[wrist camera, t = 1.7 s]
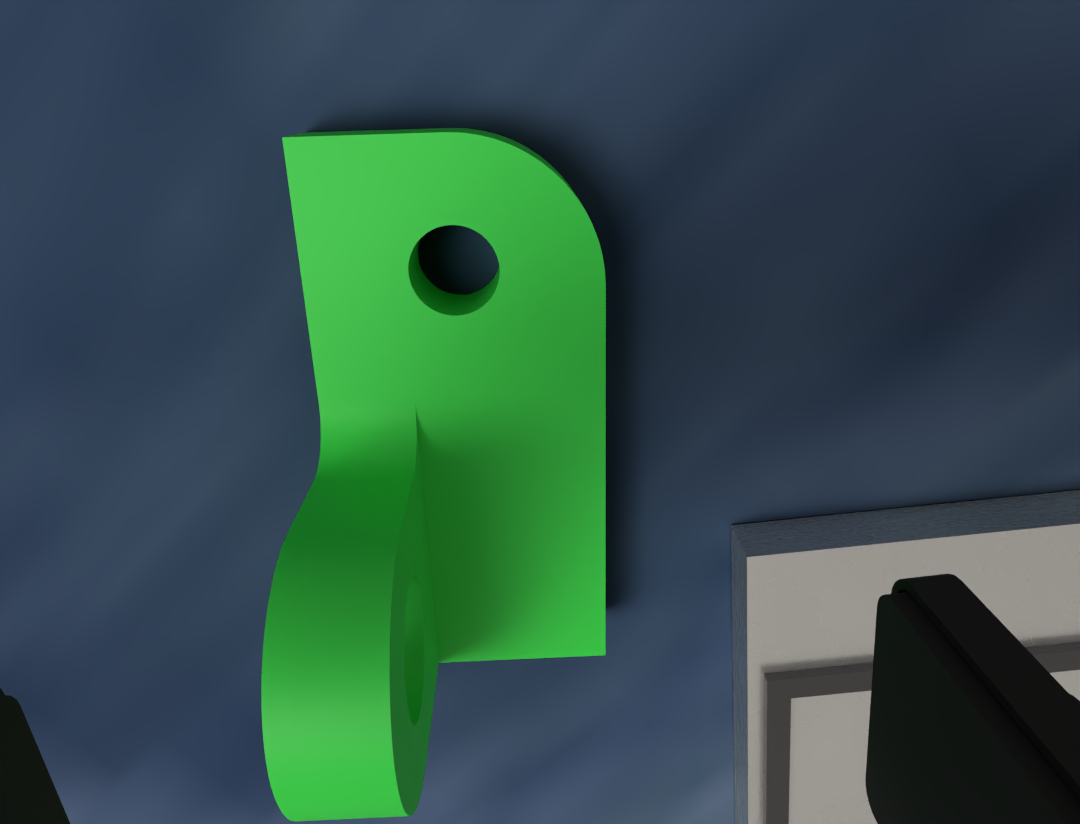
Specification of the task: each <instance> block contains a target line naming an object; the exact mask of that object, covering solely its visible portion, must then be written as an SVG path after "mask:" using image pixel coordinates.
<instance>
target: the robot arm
mask: <svg viewBox="0 0 1080 824" xmlns="http://www.w3.org/2000/svg"><path fill="white" fill-rule="evenodd" d="M865 782H866V792H867V797H868V801H869V805H870V808H871V811H872V813H873V815H874V817H875V820H876V822H877V823H878V824H1080V701H1079V700H1078V699H1077V698H1076V697H1074V696H1073V695H1071V694H1069V693H1068V692H1067V691H1066V690H1065V689H1064V688H1063V687H1062V686H1061V685H1060V684H1059V682H1058V681H1057V680H1056V679H1055V678H1054V677H1053V676H1052V675H1051V674H1050V673H1049V672H1048V671H1047V670H1046V669H1045V668H1044V667H1043V666H1042V665H1041V664H1040V663H1039V661H1038V660H1037V659H1036V658H1035V657H1034V656H1033V655H1032V654H1031V653H1030V652H1029V651H1028V650H1027V649H1026V648H1025V647H1024V646H1023V645H1022V644H1021V643H1020V641H1019V640H1018V639H1017V638H1016V637H1015V636H1014V635H1013V634H1012V633H1011V632H1010V631H1009V630H1008V629H1007V628H1006V627H1005V626H1004V625H1003V624H1002V623H1001V621H1000V620H999V619H998V618H997V617H996V616H995V615H994V614H993V613H992V612H991V611H990V610H989V609H988V608H987V607H986V606H985V605H984V604H983V603H982V601H981V600H980V599H979V598H978V597H977V596H976V595H975V594H974V593H973V592H972V591H971V590H970V589H969V588H968V587H967V586H966V585H965V584H964V583H963V582H962V580H960V579H959V578H958V577H957V576H955V575H953V574H940V575H931V576H922V577H913V578H905V579H899V580H897V581H895V583H894V585H893V587H892V591H891V594H885V595H882V596H880V598H879V600H878V604H877V613H876V628H875V643H874V658H873V673H872V688H871V703H870V718H869V733H868V748H867V762H866V777H865ZM0 824H70V822H69V820H68V817H67V815H66V813H65V810H64V808H63V806H62V803H61V801H60V799H59V796H58V794H57V791H56V789H55V787H54V784H53V782H52V780H51V777H50V775H49V772H48V770H47V768H46V765H45V763H44V761H43V758H42V756H41V753H40V751H39V749H38V746H37V744H36V742H35V739H34V737H33V735H32V732H31V730H30V727H29V725H28V723H27V720H26V718H25V716H24V713H23V711H22V708H21V706H20V704H19V703H18V701H17V700H16V699H15V698H14V697H12V696H8V695H5V694H4V692H3V691H2V689H0Z"/></svg>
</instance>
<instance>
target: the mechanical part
mask: <svg viewBox="0 0 1080 824" xmlns="http://www.w3.org/2000/svg"><path fill="white" fill-rule="evenodd" d="M282 139H283V147H284V154H285V161H286V169H287V176H288V183H289V190H290V198H291V205H292V212H293V220H294V227H295V234H296V241H297V249H298V256H299V263H300V270H301V278H302V285H303V292H304V300H305V307H306V314H307V321H308V329H309V336H310V343H311V350H312V358H313V365H314V372H315V380H316V387H317V394H318V401H319V409H320V421H321V448H320V459H319V465H318V470H317V474H316V477H315V480H314V482H313V484H312V486H311V488H310V490H309V492H308V494H307V496H306V498H305V500H304V502H303V504H302V506H301V508H300V510H299V512H298V514H297V516H296V518H295V520H294V522H293V524H292V526H291V528H290V530H289V532H288V534H287V536H286V538H285V540H284V543H283V546H282V548H281V551H280V554H279V558H278V561H277V564H276V568H275V573H274V577H273V581H272V586H271V591H270V597H269V603H268V609H267V617H266V625H265V634H264V645H263V660H262V727H263V740H264V750H265V758H266V765H267V771H268V776H269V780H270V784H271V788H272V791H273V794H274V797H275V800H276V802H277V804H278V807H279V808H280V810H281V812H282V813H283V814H284V815H285V817H286V818H288V819H289V820H291V821H314V820H335V819H356V818H377V817H398V816H411V815H413V813H414V812H415V810H416V808H417V805H418V802H419V799H420V795H421V791H422V786H423V780H424V774H425V766H426V759H427V751H428V743H429V735H430V727H431V719H432V712H433V704H434V696H435V688H436V680H437V672H438V665H439V663H440V662H463V661H485V660H508V659H530V658H553V657H576V656H598V655H605V614H606V280H605V267H604V261H603V255H602V251H601V247H600V244H599V240H598V237H597V235H596V232H595V229H594V227H593V224H592V222H591V220H590V218H589V217H588V215H587V213H586V211H585V209H584V207H583V206H582V204H581V202H580V201H579V199H578V197H577V196H576V194H575V193H574V191H573V190H572V188H571V187H570V185H569V184H568V183H567V182H566V180H565V179H564V178H563V177H562V176H561V174H560V173H559V172H558V171H557V170H556V169H555V168H554V167H553V166H551V165H550V164H549V163H548V162H547V161H546V160H544V159H543V158H542V157H541V156H539V155H538V154H537V153H535V152H533V151H532V150H530V149H529V148H527V147H526V146H524V145H522V144H520V143H518V142H516V141H514V140H512V139H509V138H506V137H504V136H501V135H498V134H495V133H491V132H487V131H483V130H476V129H469V128H431V129H400V130H368V131H337V132H305V133H300V134H296V135H291V136H286V137H282ZM446 225H459V226H464V227H467V228H470V229H472V230H475V231H476V232H478V233H480V234H481V235H482V236H483V237H484V238H485V239H487V240H488V242H489V243H490V244H491V246H492V247H493V249H494V251H495V253H496V255H497V258H498V261H499V268H498V271H497V273H496V275H495V277H494V278H493V279H492V281H491V282H490V283H489V284H488V285H487V286H485V287H484V288H482V289H481V290H479V291H477V292H474V293H471V294H465V295H456V294H451V293H447V292H444V291H442V290H440V289H439V288H437V287H436V286H434V285H433V284H432V283H431V282H430V281H429V280H428V279H427V277H426V276H425V275H424V273H423V271H422V269H421V266H420V263H419V259H418V246H419V241H420V238H421V237H423V236H424V235H425V234H426V233H428V232H429V231H431V230H433V229H435V228H438V227H441V226H446Z"/></svg>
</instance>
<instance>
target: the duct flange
mask: <svg viewBox="0 0 1080 824" xmlns="http://www.w3.org/2000/svg"><path fill="white" fill-rule="evenodd" d="M731 563H732V641H733V718H734V795H735V824H878V823H877V822H876V820H875V817H874V815H873V813H872V811H871V808H870V805H869V801H868V797H867V792H866V782H865V777H866V762H867V748H868V733H869V718H870V703H871V688H872V673H873V658H874V643H875V628H876V613H877V604H878V600H879V598H880V596H882V595H885V594H891V591H892V587H893V585H894V583H895V581H897V580H899V579H905V578H913V577H922V576H931V575H940V574H953V575H955V576H957V577H958V578H959V579H960V580H962V582H963V583H964V584H965V585H966V586H967V587H968V588H969V589H970V590H971V591H972V592H973V593H974V594H975V595H976V596H977V597H978V598H979V599H980V600H981V601H982V603H983V604H984V605H985V606H986V607H987V608H988V609H989V610H990V611H991V612H992V613H993V614H994V615H995V616H996V617H997V618H998V619H999V620H1000V621H1001V623H1002V624H1003V625H1004V626H1005V627H1006V628H1007V629H1008V630H1009V631H1010V632H1011V633H1012V634H1013V635H1014V636H1015V637H1016V638H1017V639H1018V640H1019V641H1020V643H1021V644H1022V645H1023V646H1024V647H1025V648H1026V649H1027V650H1028V651H1029V652H1030V653H1031V654H1032V655H1033V656H1034V657H1035V658H1036V659H1037V660H1038V661H1039V663H1040V664H1041V665H1042V666H1043V667H1044V668H1045V669H1046V670H1047V671H1048V672H1049V673H1050V674H1051V675H1052V676H1053V677H1054V678H1055V679H1056V680H1057V681H1058V682H1059V684H1060V685H1061V686H1062V687H1063V688H1064V689H1065V690H1066V691H1067V692H1068V693H1069V694H1071V695H1073V696H1074V697H1076V698H1077V699H1078V700H1079V701H1080V490H1075V491H1065V492H1055V493H1045V494H1035V495H1025V496H1015V497H1005V498H996V499H986V500H976V501H966V502H956V503H946V504H936V505H926V506H916V507H907V508H897V509H887V510H877V511H867V512H857V513H847V514H837V515H827V516H818V517H808V518H798V519H788V520H778V521H768V522H758V523H748V524H739V525H731Z"/></svg>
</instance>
